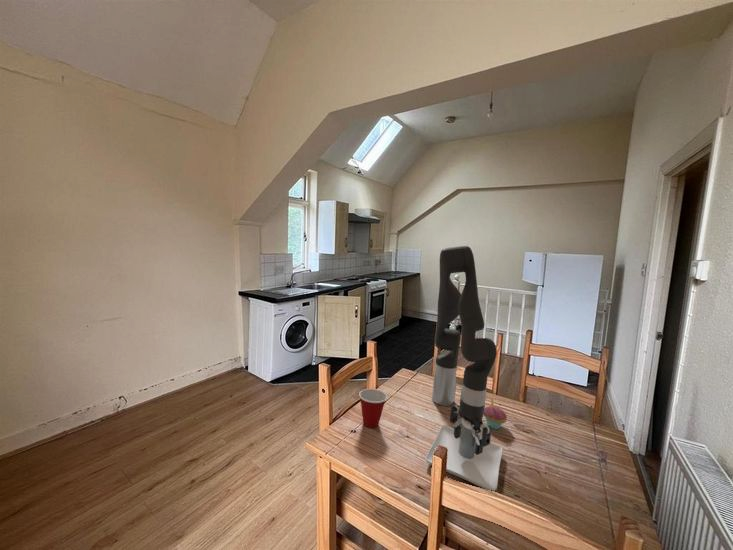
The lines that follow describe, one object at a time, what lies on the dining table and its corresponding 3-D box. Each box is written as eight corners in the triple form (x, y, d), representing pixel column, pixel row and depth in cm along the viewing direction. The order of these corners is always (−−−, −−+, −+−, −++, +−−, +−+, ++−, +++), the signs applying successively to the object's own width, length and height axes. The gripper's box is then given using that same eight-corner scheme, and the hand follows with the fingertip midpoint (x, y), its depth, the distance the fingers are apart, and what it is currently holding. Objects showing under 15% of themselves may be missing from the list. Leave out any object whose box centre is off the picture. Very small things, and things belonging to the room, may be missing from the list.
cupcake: (481, 428, 115) (485, 399, 113) (482, 416, 123) (485, 389, 121) (505, 434, 112) (510, 405, 110) (504, 422, 119) (508, 394, 118)
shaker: (465, 445, 100) (469, 413, 98) (478, 455, 95) (482, 422, 94) (454, 450, 97) (458, 417, 96) (467, 461, 93) (471, 427, 91)
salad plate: (495, 501, 83) (496, 490, 82) (423, 468, 93) (424, 458, 93) (502, 455, 101) (503, 446, 101) (441, 432, 111) (442, 423, 111)
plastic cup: (387, 418, 117) (389, 390, 115) (381, 435, 106) (384, 404, 105) (361, 412, 119) (363, 384, 118) (353, 428, 109) (355, 398, 108)
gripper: (499, 407, 90) (493, 456, 92) (463, 386, 102) (458, 429, 104) (484, 413, 86) (477, 464, 88) (447, 390, 98) (442, 435, 100)
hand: (467, 445), depth 96 cm, fingers open, 8 cm apart
